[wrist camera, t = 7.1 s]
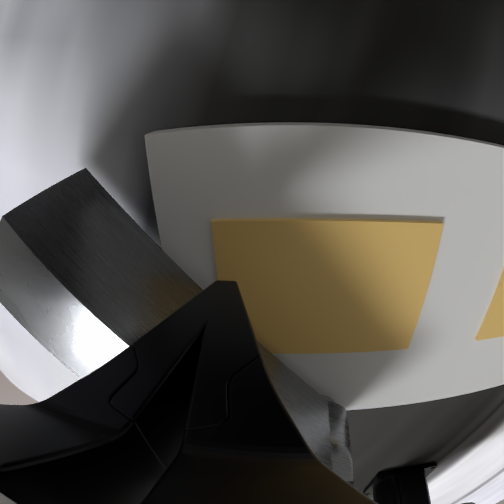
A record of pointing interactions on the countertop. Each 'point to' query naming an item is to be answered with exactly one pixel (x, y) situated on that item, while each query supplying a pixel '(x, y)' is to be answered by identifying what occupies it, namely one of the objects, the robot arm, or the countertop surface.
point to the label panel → (346, 249)
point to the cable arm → (121, 296)
